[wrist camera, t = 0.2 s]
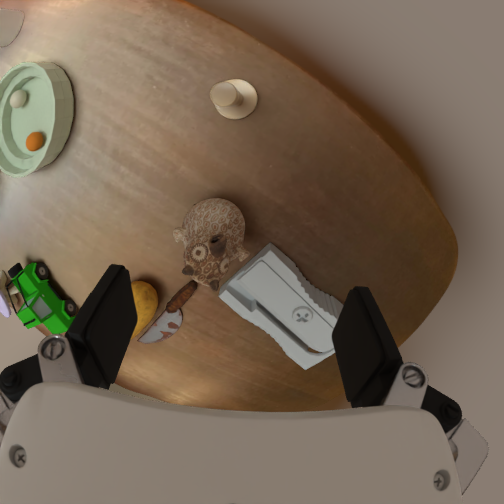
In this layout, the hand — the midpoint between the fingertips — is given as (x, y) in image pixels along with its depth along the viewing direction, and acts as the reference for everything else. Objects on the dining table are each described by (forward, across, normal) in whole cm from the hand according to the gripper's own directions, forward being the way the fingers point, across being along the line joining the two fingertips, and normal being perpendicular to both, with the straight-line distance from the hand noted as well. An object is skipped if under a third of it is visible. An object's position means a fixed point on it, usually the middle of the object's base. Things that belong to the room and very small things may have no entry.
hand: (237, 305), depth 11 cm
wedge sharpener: (+25, -9, +21) cm, 34 cm away
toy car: (+25, +38, +25) cm, 52 cm away
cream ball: (+23, +36, -12) cm, 44 cm away
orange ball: (+23, +32, -4) cm, 39 cm away
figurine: (+25, +3, +8) cm, 27 cm away
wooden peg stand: (+25, +2, -8) cm, 27 cm away
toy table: (+25, +54, +28) cm, 66 cm away
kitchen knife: (+25, +11, +28) cm, 39 cm away
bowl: (+25, +33, -8) cm, 42 cm away
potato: (+25, +17, +24) cm, 39 cm away
